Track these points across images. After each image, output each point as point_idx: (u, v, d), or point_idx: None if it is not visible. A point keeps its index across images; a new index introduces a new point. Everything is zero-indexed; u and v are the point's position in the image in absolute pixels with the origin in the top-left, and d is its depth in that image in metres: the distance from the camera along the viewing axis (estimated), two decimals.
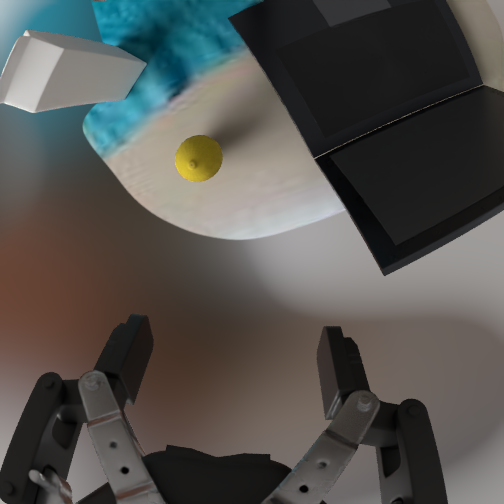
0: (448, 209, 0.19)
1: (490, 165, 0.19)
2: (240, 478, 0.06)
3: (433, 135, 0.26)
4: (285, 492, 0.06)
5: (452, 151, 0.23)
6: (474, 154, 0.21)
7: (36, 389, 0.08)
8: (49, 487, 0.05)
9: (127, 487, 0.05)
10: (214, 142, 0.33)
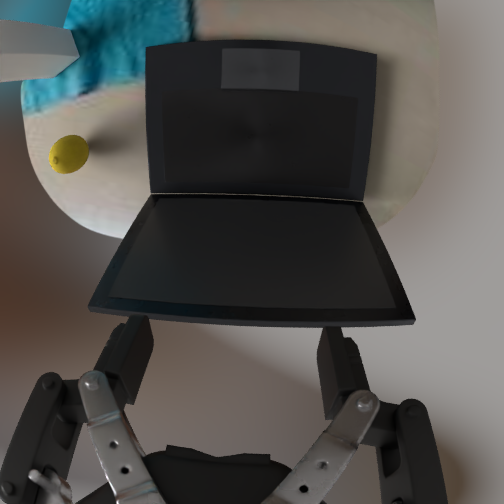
0: (163, 295, 0.26)
1: (243, 280, 0.27)
2: (240, 478, 0.06)
3: (239, 226, 0.34)
4: (285, 492, 0.06)
5: (232, 249, 0.31)
6: (243, 263, 0.29)
7: (36, 389, 0.08)
8: (49, 487, 0.05)
9: (127, 487, 0.05)
10: (81, 148, 0.35)
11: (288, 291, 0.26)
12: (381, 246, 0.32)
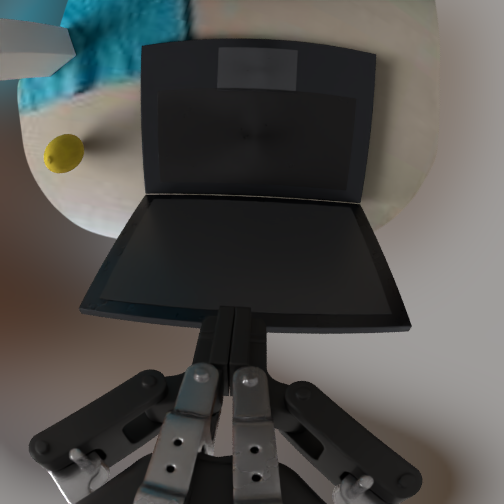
0: (154, 298, 0.25)
1: (235, 284, 0.27)
2: None
3: (233, 228, 0.34)
4: (243, 489, 0.06)
5: (225, 252, 0.30)
6: (236, 266, 0.29)
7: (134, 379, 0.09)
8: (85, 468, 0.06)
9: (159, 483, 0.06)
10: (76, 147, 0.34)
11: (281, 296, 0.26)
12: (378, 250, 0.32)
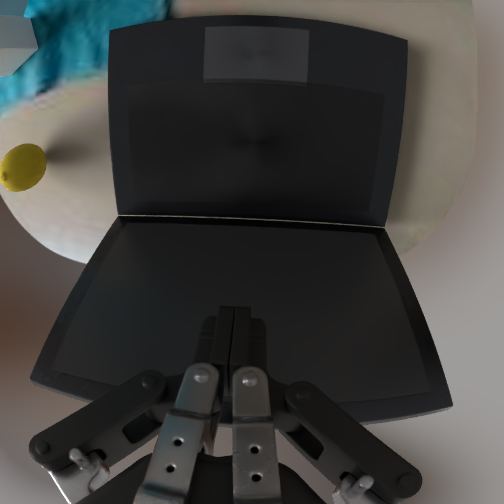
0: (116, 375, 0.17)
1: None
2: None
3: (224, 268, 0.25)
4: (243, 489, 0.06)
5: (212, 305, 0.22)
6: None
7: (134, 379, 0.09)
8: (85, 468, 0.06)
9: (159, 483, 0.06)
10: (35, 160, 0.26)
11: (288, 377, 0.18)
12: (411, 295, 0.23)
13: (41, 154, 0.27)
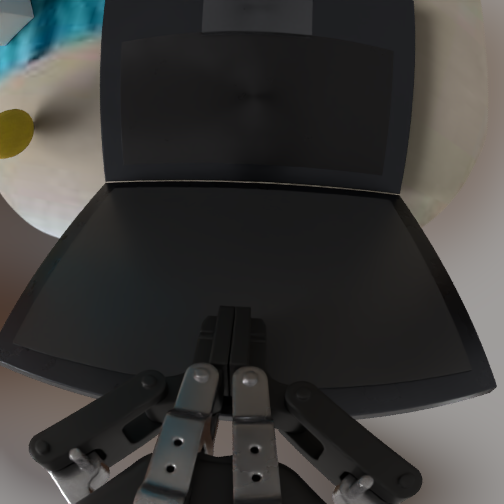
0: (84, 351, 0.13)
1: None
2: None
3: (220, 229, 0.21)
4: (243, 489, 0.06)
5: (206, 269, 0.18)
6: (222, 296, 0.17)
7: (134, 379, 0.09)
8: (85, 468, 0.06)
9: (159, 483, 0.06)
10: (21, 124, 0.22)
11: (301, 354, 0.14)
12: (437, 263, 0.19)
13: (28, 119, 0.23)
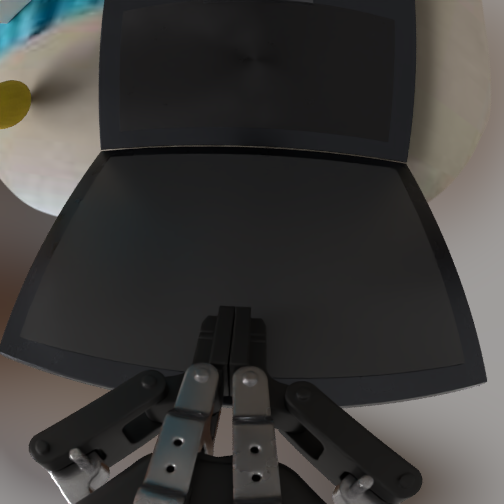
0: (90, 342, 0.14)
1: None
2: None
3: (220, 202, 0.21)
4: (243, 489, 0.06)
5: (206, 249, 0.18)
6: (223, 279, 0.17)
7: (134, 379, 0.09)
8: (85, 468, 0.06)
9: (159, 483, 0.06)
10: (18, 93, 0.20)
11: (300, 342, 0.14)
12: (441, 243, 0.19)
13: (26, 90, 0.21)
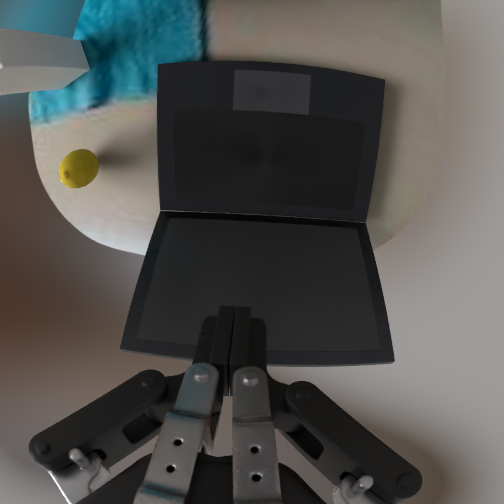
0: (185, 337, 0.30)
1: None
2: None
3: (248, 258, 0.37)
4: (243, 489, 0.06)
5: (242, 286, 0.34)
6: (253, 304, 0.33)
7: (134, 379, 0.09)
8: (85, 468, 0.06)
9: (159, 483, 0.06)
10: (92, 163, 0.36)
11: (291, 334, 0.31)
12: (377, 281, 0.35)
13: (95, 159, 0.37)
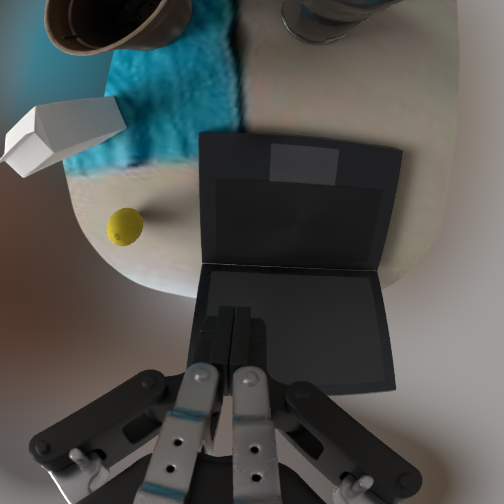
0: None
1: (289, 364, 0.39)
2: None
3: (283, 309, 0.44)
4: (243, 489, 0.06)
5: (280, 334, 0.42)
6: (289, 349, 0.40)
7: (134, 379, 0.09)
8: (85, 468, 0.06)
9: (159, 483, 0.06)
10: (139, 223, 0.43)
11: (318, 372, 0.38)
12: (384, 324, 0.43)
13: (140, 217, 0.45)
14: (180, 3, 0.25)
